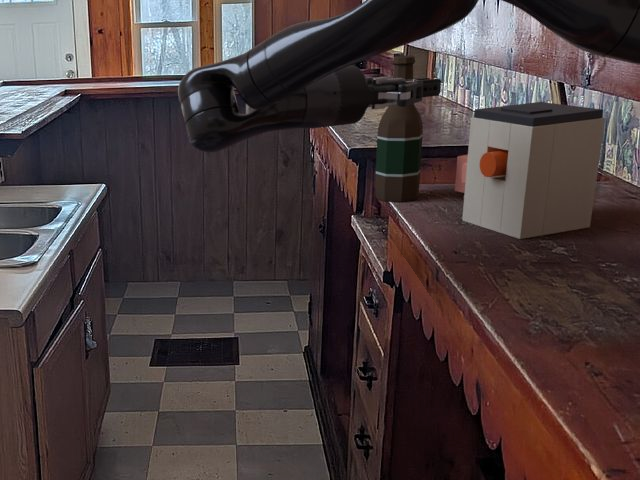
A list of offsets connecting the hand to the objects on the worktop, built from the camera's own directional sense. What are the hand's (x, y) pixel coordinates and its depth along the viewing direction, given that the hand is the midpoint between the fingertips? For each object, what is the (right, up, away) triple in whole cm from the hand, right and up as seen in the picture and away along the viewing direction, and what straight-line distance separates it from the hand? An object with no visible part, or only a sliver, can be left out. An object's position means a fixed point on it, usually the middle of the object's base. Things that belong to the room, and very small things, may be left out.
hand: (433, 86), depth 119 cm
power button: (+12, -10, +9) cm, 19 cm away
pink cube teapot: (+20, -10, +32) cm, 38 cm away
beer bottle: (+4, -9, +35) cm, 36 cm away
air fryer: (+19, -17, +14) cm, 29 cm away
